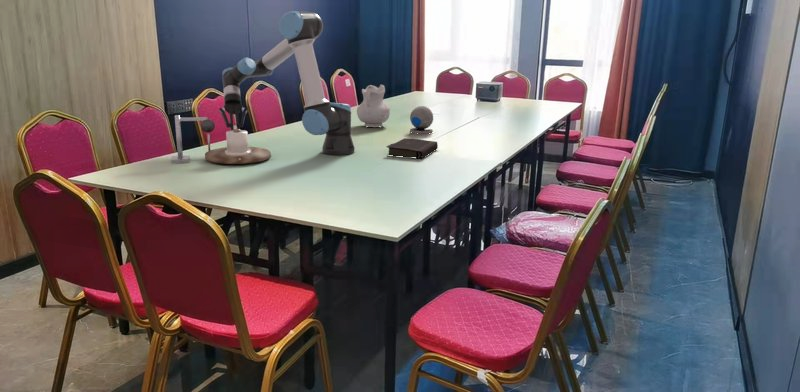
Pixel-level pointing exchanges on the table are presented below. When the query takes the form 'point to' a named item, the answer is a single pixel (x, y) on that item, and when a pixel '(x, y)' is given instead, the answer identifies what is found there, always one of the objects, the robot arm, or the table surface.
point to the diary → (412, 148)
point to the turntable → (220, 157)
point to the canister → (237, 143)
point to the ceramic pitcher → (373, 107)
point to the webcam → (421, 120)
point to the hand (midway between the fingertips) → (236, 138)
